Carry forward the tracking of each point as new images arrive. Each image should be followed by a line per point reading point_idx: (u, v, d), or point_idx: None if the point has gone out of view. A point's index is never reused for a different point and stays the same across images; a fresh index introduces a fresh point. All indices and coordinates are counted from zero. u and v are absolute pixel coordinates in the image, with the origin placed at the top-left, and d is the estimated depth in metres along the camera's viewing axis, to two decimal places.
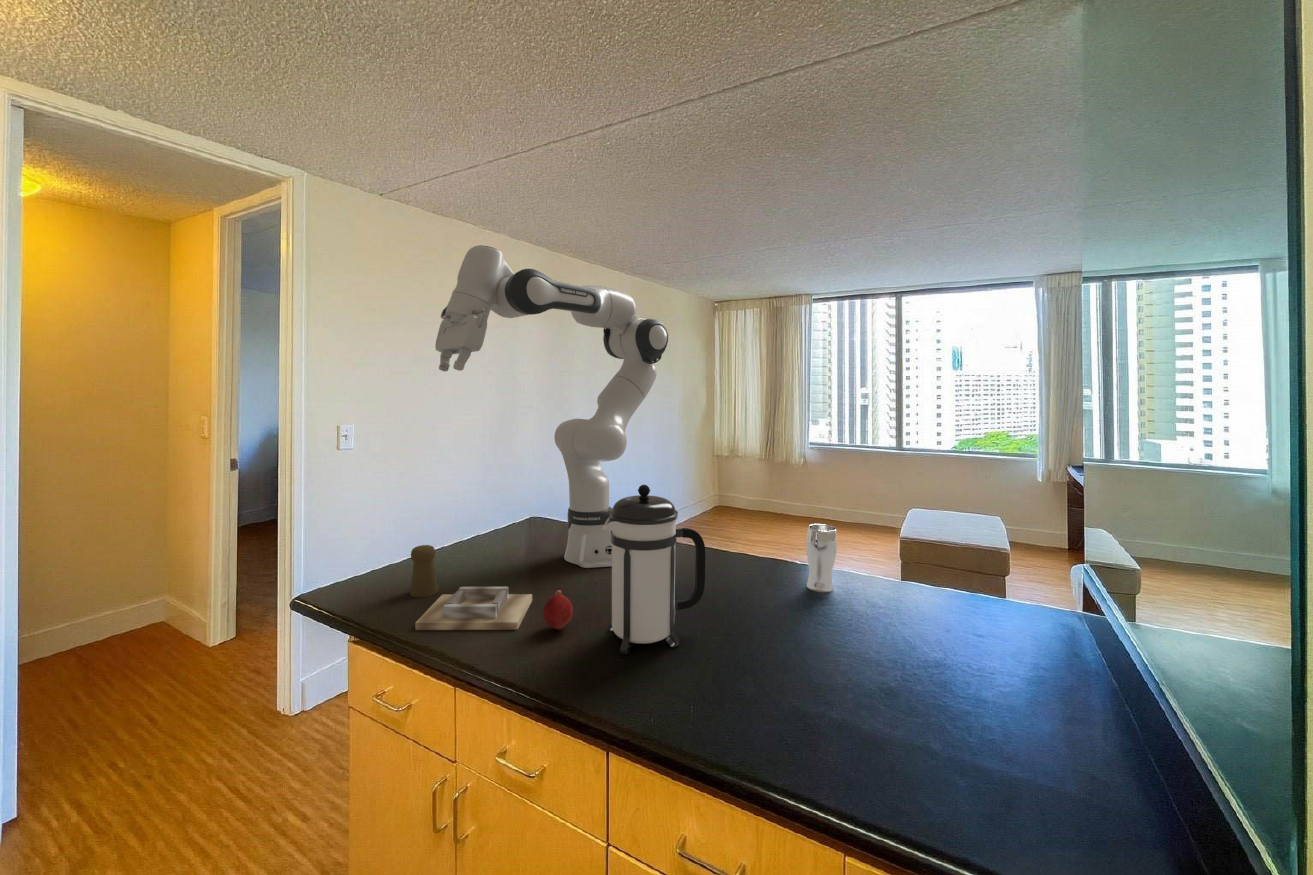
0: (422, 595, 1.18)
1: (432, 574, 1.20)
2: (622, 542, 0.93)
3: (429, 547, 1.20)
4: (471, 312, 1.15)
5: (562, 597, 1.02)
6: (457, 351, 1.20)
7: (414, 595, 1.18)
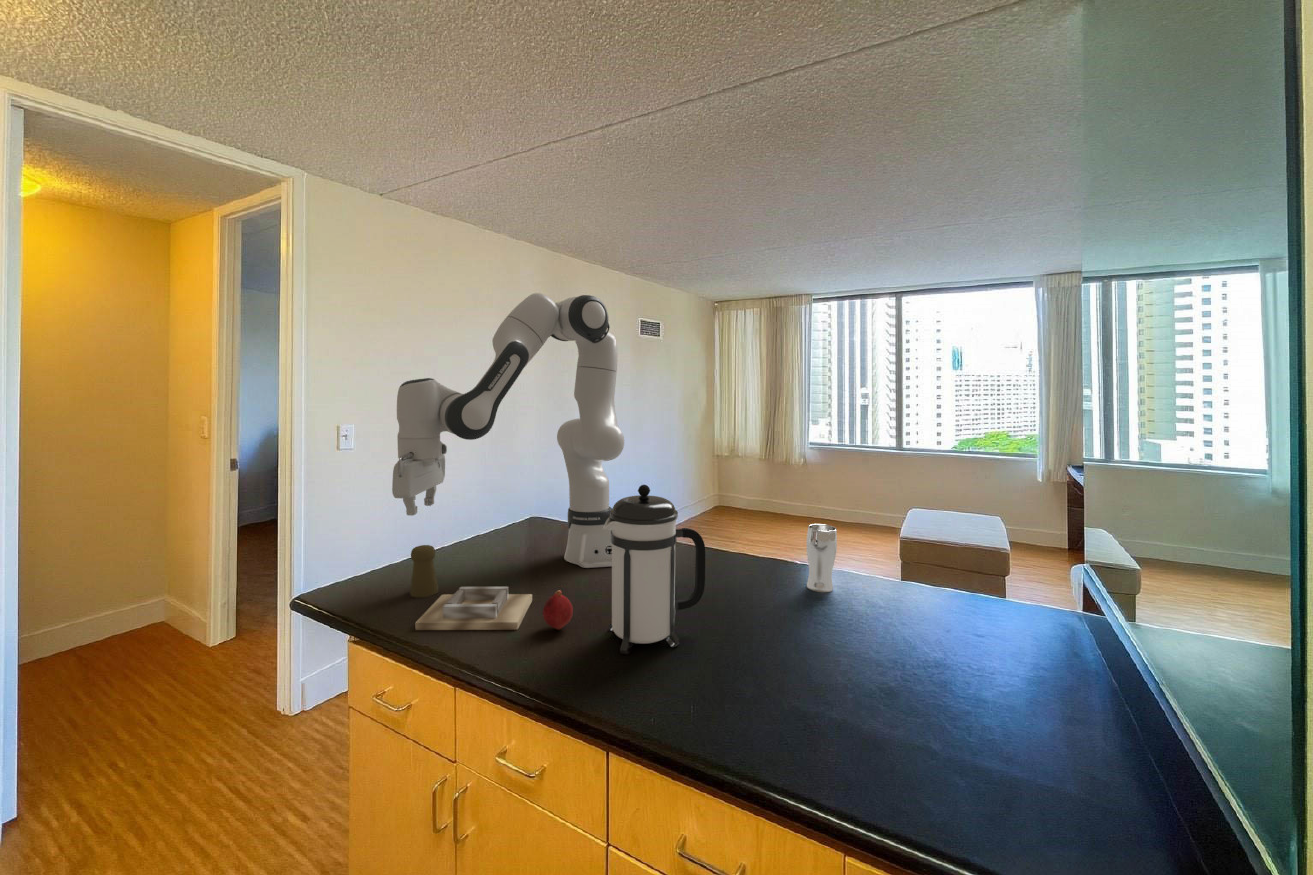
0: (422, 595, 1.18)
1: (432, 574, 1.20)
2: (622, 542, 0.93)
3: (429, 547, 1.20)
4: None
5: (562, 597, 1.02)
6: None
7: (414, 595, 1.18)
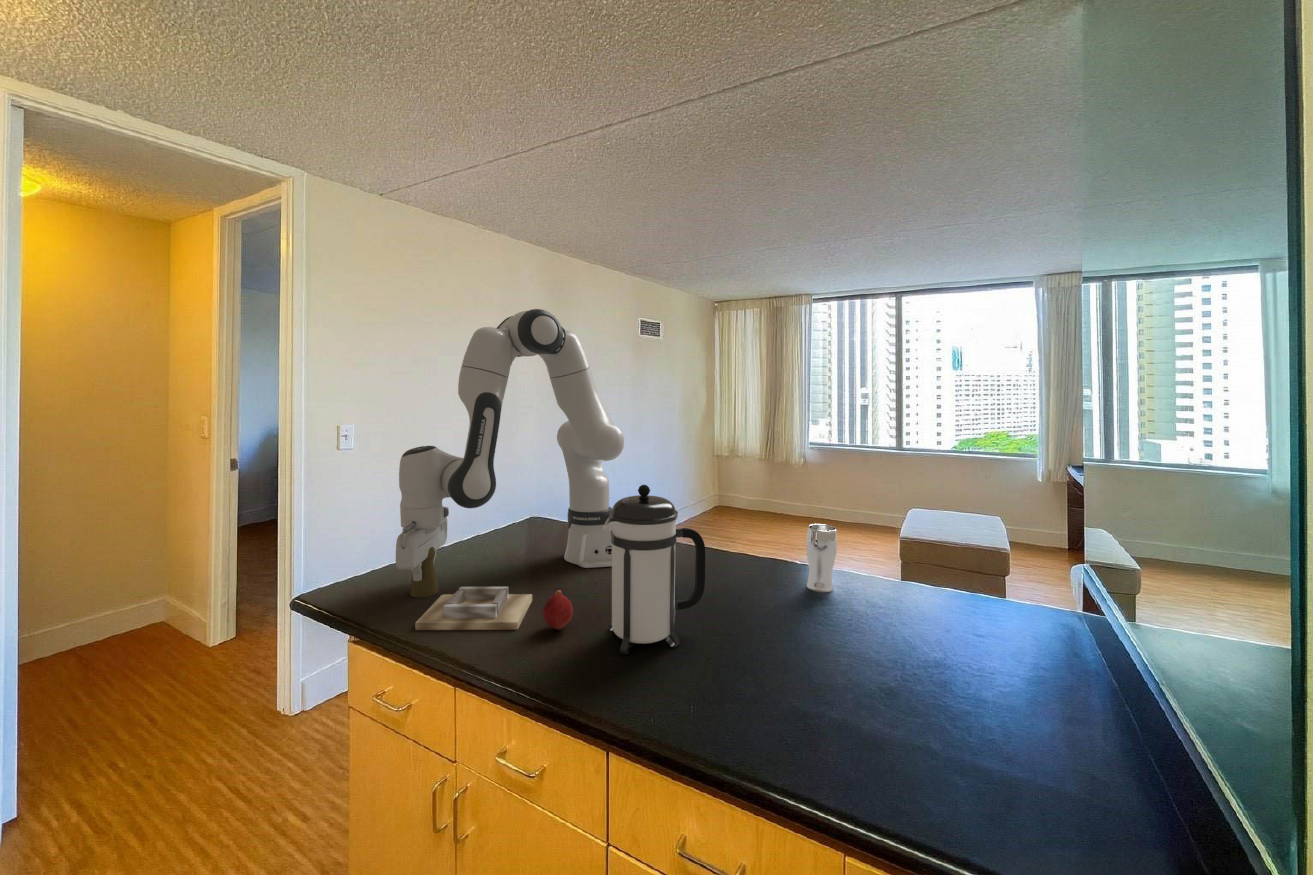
0: (422, 595, 1.18)
1: (432, 574, 1.20)
2: (622, 542, 0.93)
3: None
4: None
5: (562, 597, 1.02)
6: None
7: (414, 595, 1.18)
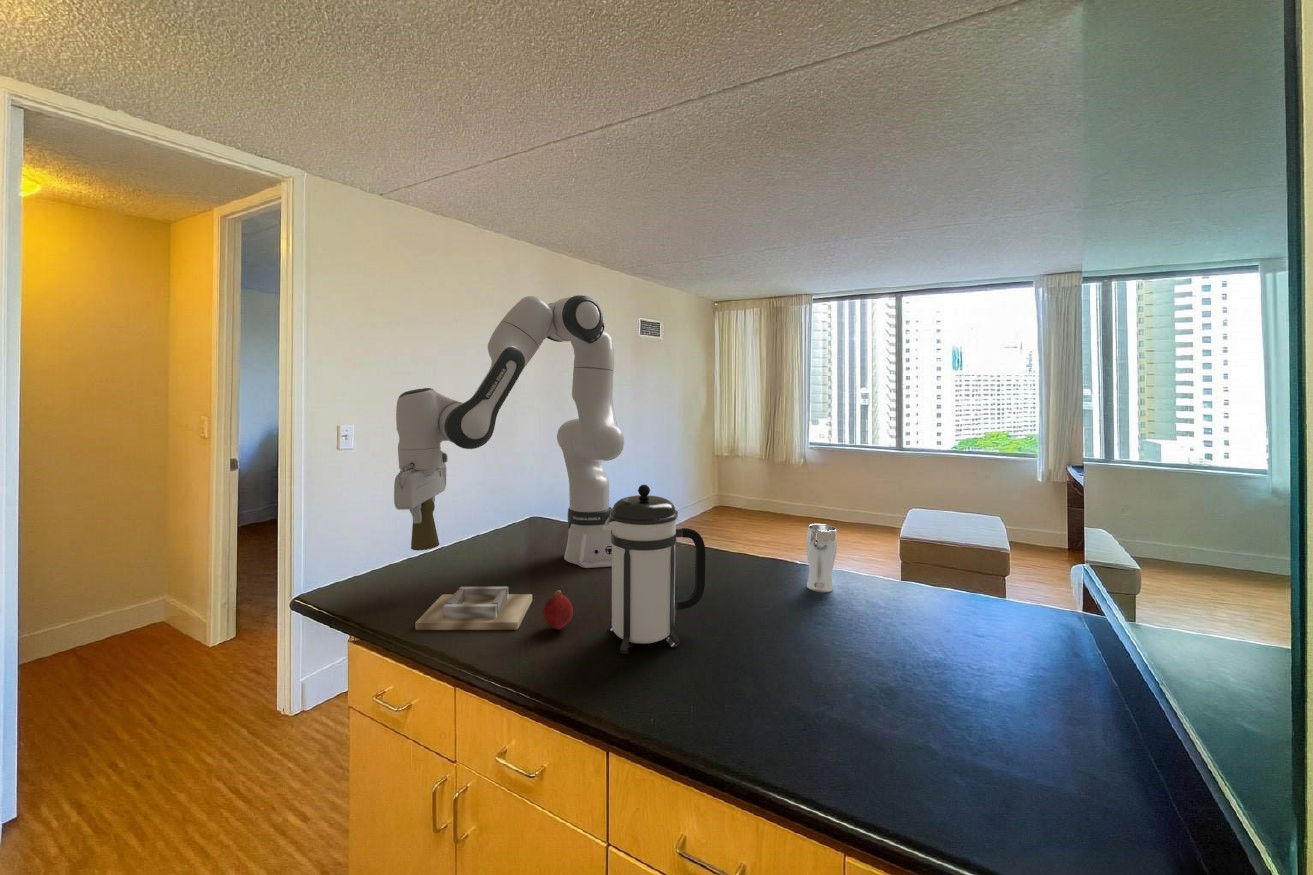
0: (422, 548, 1.17)
1: (432, 527, 1.19)
2: (622, 542, 0.93)
3: (428, 500, 1.19)
4: None
5: (562, 597, 1.02)
6: None
7: (414, 548, 1.18)
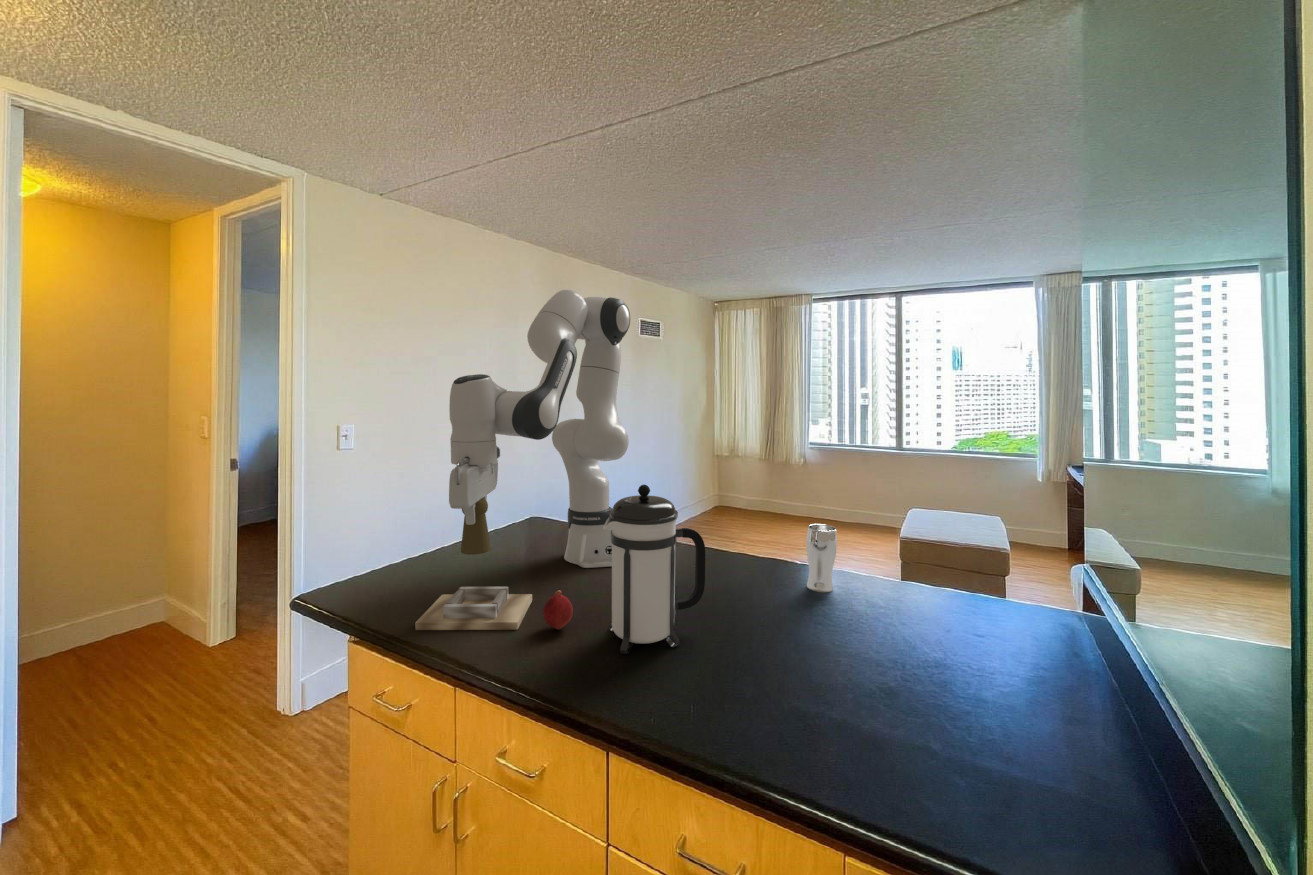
0: (474, 552, 1.05)
1: (485, 529, 1.07)
2: (622, 542, 0.93)
3: (482, 499, 1.07)
4: None
5: (562, 597, 1.02)
6: None
7: (465, 552, 1.06)
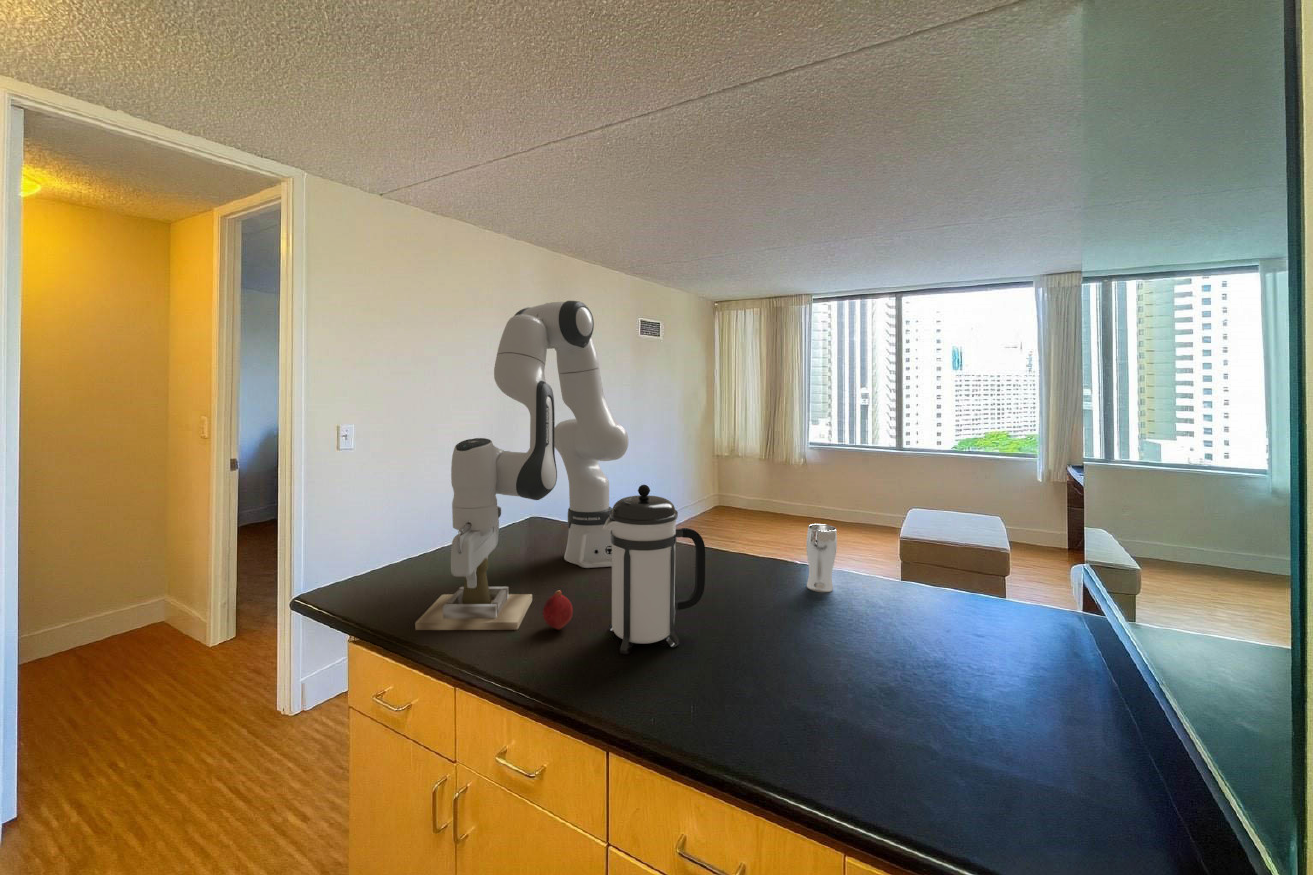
0: None
1: (485, 588, 1.08)
2: (622, 542, 0.93)
3: None
4: None
5: (562, 597, 1.02)
6: None
7: None
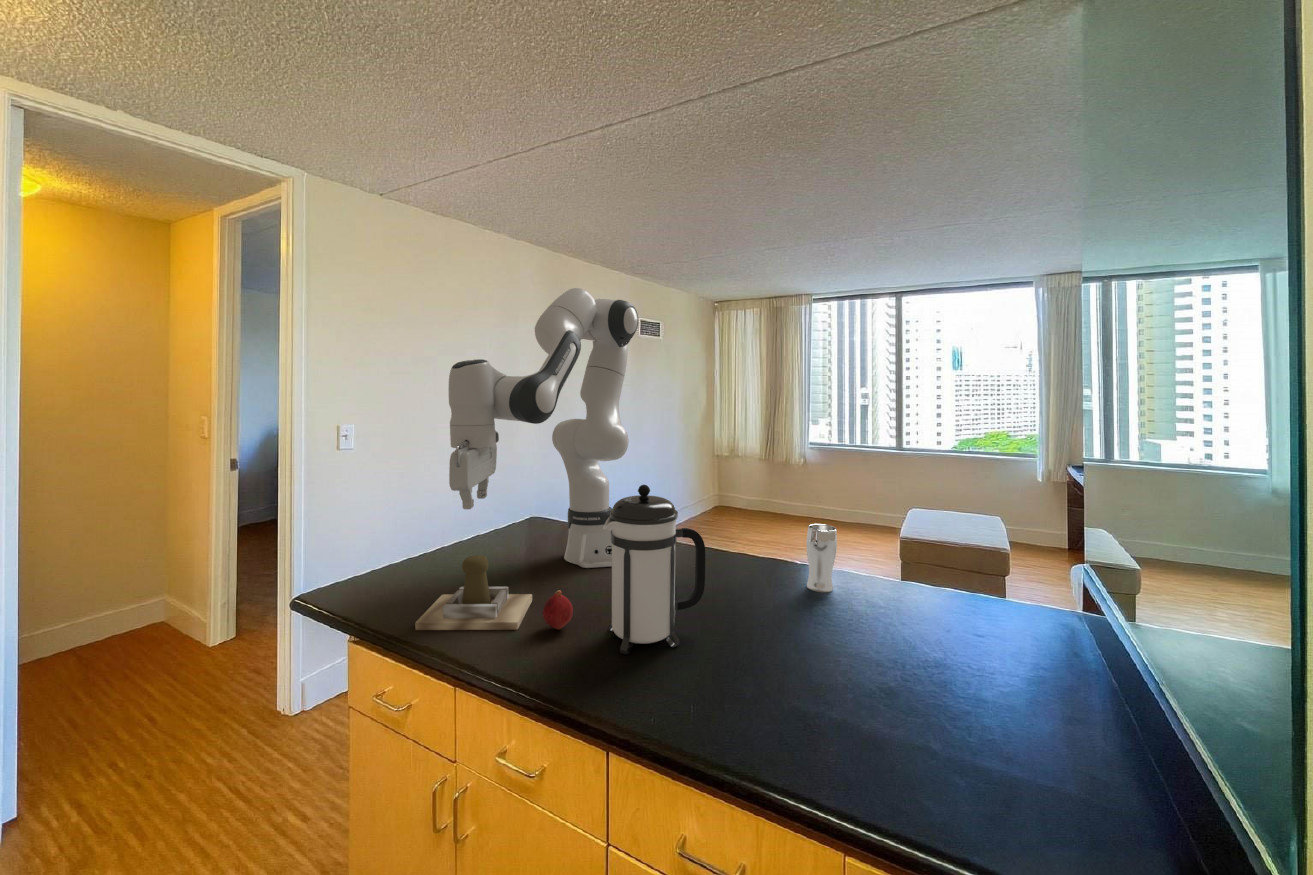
0: None
1: (485, 588, 1.08)
2: (622, 542, 0.93)
3: (483, 558, 1.08)
4: None
5: (562, 597, 1.02)
6: None
7: None
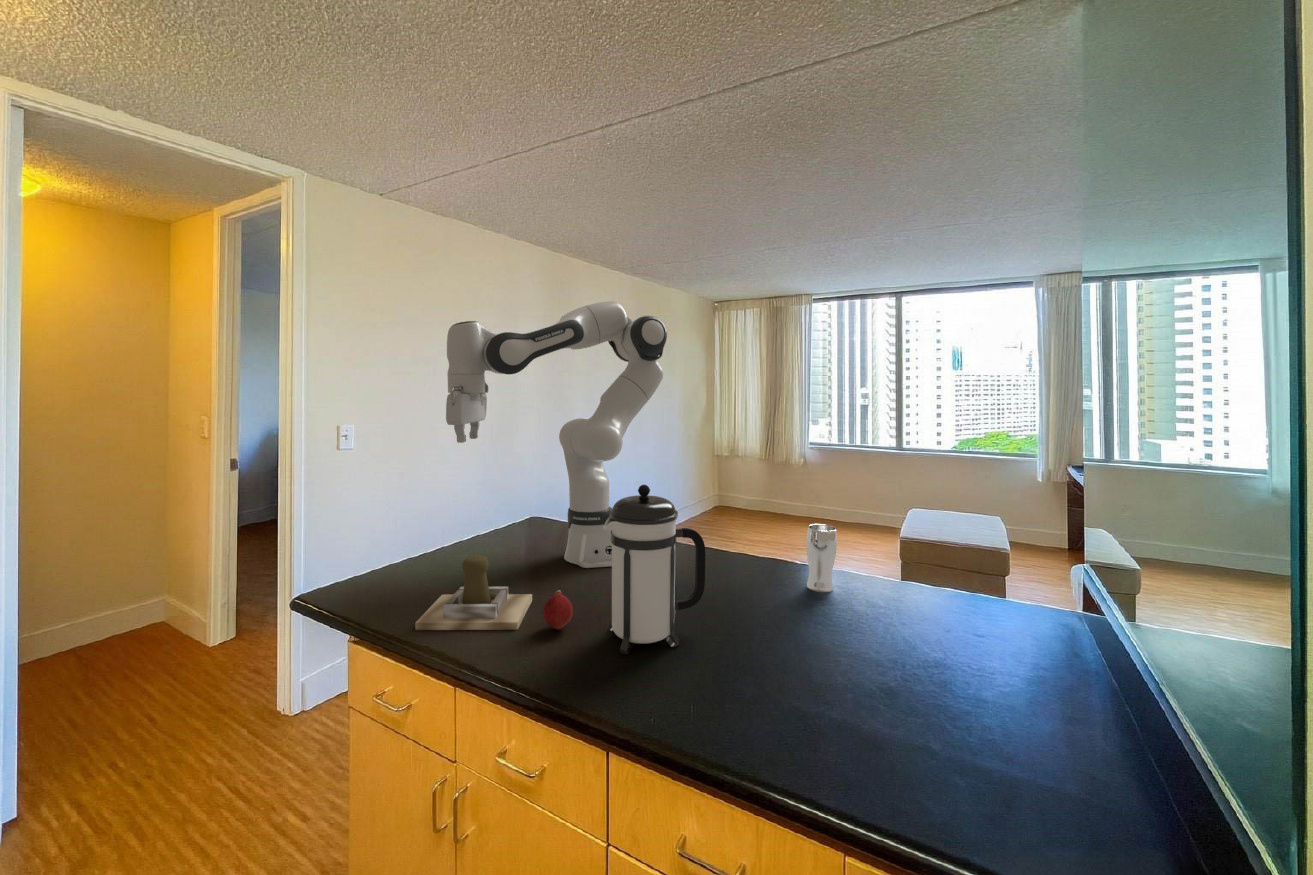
0: None
1: (485, 588, 1.08)
2: (622, 542, 0.93)
3: (483, 558, 1.08)
4: None
5: (562, 597, 1.02)
6: None
7: None
